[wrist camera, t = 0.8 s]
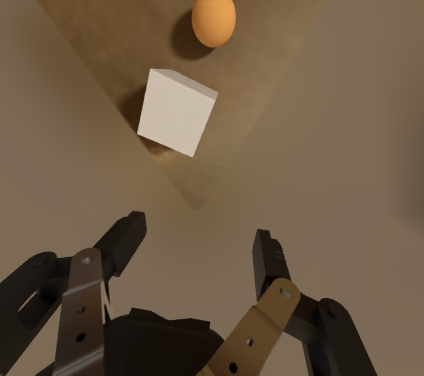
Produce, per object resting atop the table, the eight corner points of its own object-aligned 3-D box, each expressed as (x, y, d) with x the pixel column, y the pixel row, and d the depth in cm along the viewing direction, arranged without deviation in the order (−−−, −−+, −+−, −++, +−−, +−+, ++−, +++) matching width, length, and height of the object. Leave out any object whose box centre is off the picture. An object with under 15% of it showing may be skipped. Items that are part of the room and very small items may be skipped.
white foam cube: (200, 136, 31) (192, 157, 23) (159, 118, 29) (137, 133, 22) (218, 92, 27) (215, 100, 20) (172, 69, 26) (150, 68, 18)
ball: (193, 45, 24) (186, 40, 20) (197, -8, 21) (190, -27, 17) (230, 52, 24) (231, 48, 20) (238, 0, 22) (241, -17, 17)
